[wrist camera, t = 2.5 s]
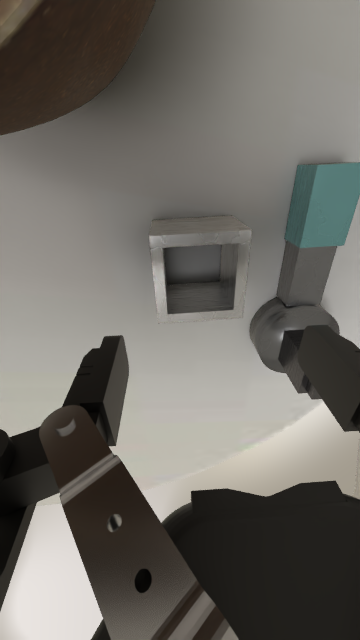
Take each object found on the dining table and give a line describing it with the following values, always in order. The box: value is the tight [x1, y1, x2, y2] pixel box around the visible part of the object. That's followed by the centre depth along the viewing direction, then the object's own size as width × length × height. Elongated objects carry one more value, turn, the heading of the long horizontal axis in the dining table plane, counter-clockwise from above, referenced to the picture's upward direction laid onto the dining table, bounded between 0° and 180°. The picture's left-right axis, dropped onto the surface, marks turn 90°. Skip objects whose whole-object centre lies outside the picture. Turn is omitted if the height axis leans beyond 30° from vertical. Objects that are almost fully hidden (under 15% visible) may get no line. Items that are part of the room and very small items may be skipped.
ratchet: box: [250, 162, 360, 399], centre depth 18 cm, size 17×7×8 cm, turn 3°
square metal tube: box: [149, 215, 252, 324], centre depth 18 cm, size 6×6×5 cm
